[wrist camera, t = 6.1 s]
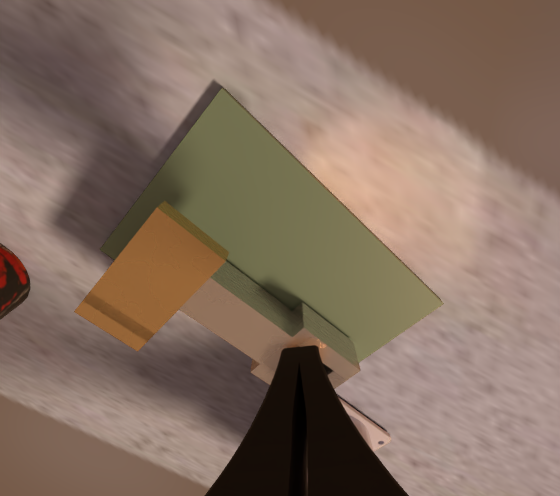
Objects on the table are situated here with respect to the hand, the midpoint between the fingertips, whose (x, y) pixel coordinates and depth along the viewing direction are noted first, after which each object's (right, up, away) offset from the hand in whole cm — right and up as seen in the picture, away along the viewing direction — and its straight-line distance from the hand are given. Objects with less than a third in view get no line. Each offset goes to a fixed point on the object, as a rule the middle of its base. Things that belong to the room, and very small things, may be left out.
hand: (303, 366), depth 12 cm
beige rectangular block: (-3, +1, +9) cm, 10 cm away
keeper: (-7, +5, +8) cm, 12 cm away
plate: (-1, +3, +9) cm, 10 cm away
